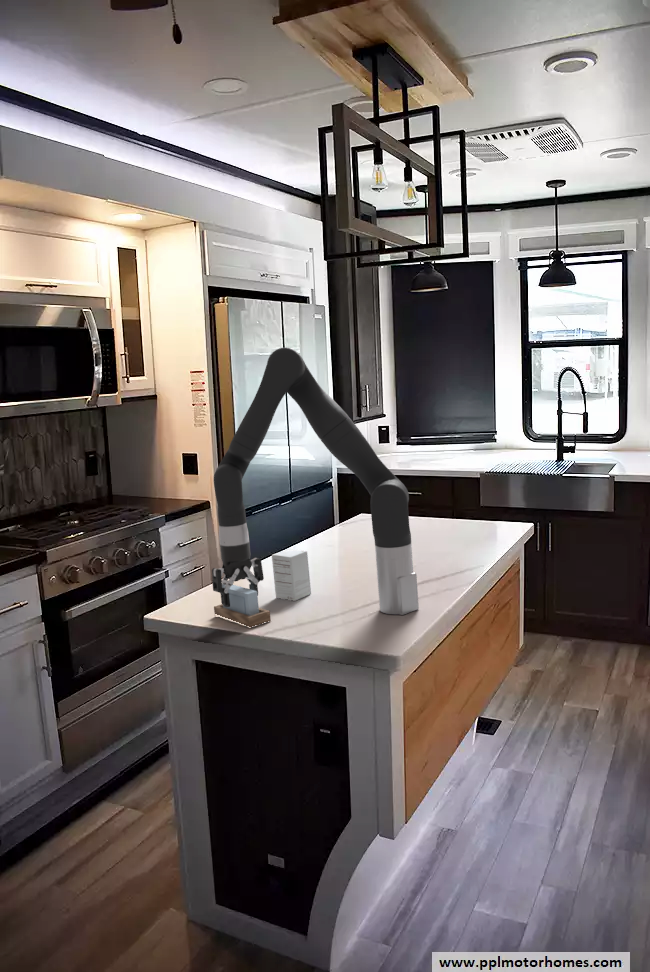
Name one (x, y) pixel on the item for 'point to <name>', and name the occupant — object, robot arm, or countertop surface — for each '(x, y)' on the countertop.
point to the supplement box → (291, 574)
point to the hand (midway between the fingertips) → (240, 602)
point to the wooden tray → (243, 616)
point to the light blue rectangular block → (243, 600)
